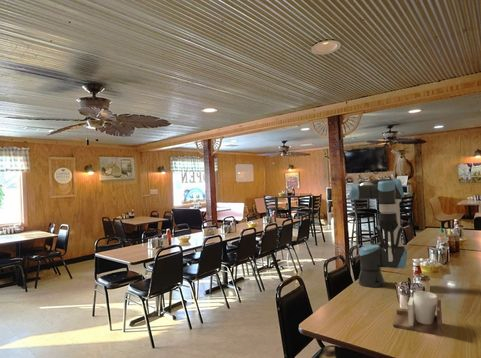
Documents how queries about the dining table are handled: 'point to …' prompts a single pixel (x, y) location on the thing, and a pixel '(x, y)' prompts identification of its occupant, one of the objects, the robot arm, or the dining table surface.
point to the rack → (403, 322)
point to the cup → (425, 306)
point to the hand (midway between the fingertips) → (390, 260)
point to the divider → (411, 311)
